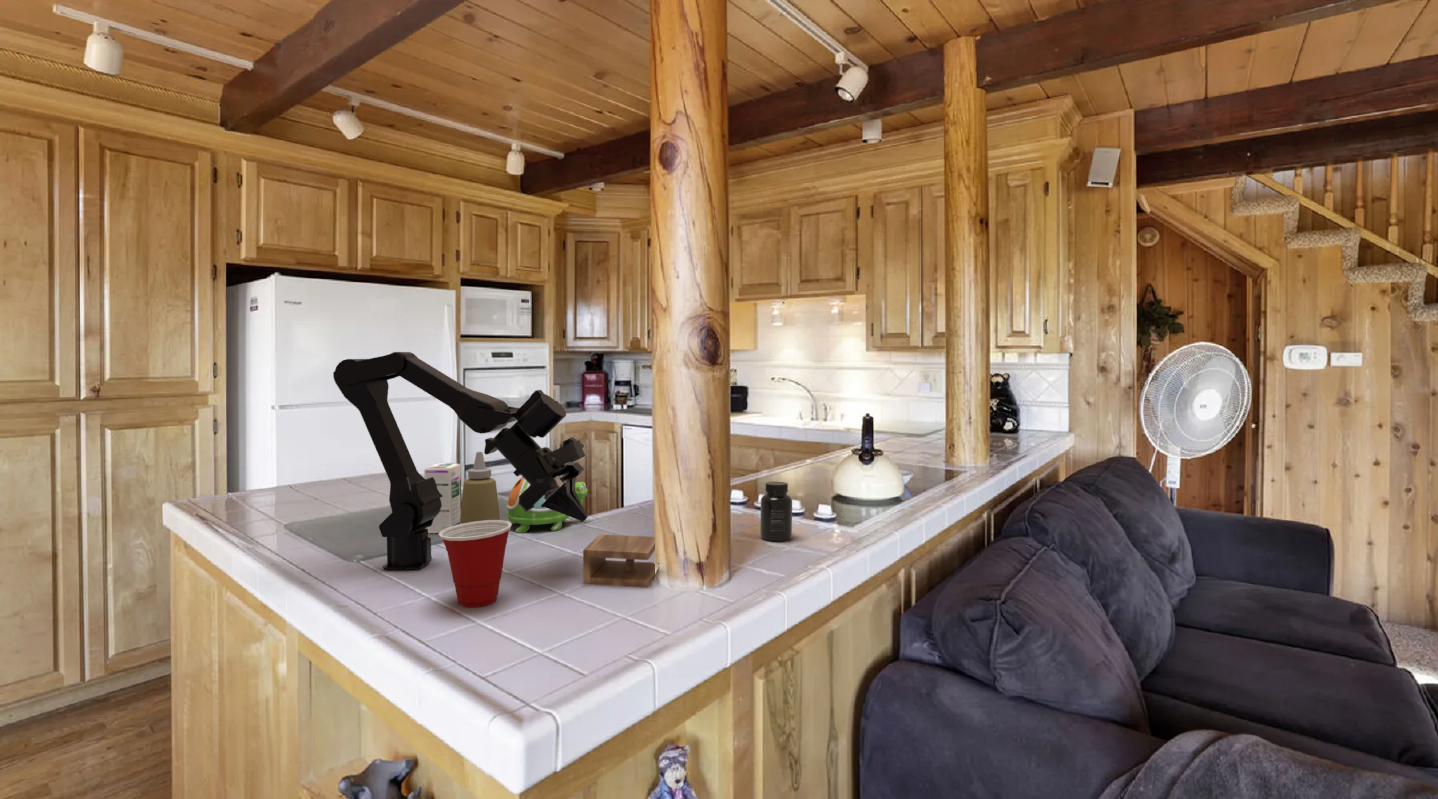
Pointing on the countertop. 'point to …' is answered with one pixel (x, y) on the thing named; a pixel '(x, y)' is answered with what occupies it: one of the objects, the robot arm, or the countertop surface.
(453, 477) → the syrup box
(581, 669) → the countertop surface
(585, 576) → the wooden napkin holder
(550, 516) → the turtle holder
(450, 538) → the plastic cup
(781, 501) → the supplement bottle
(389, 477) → the robot arm
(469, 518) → the squeeze bottle
